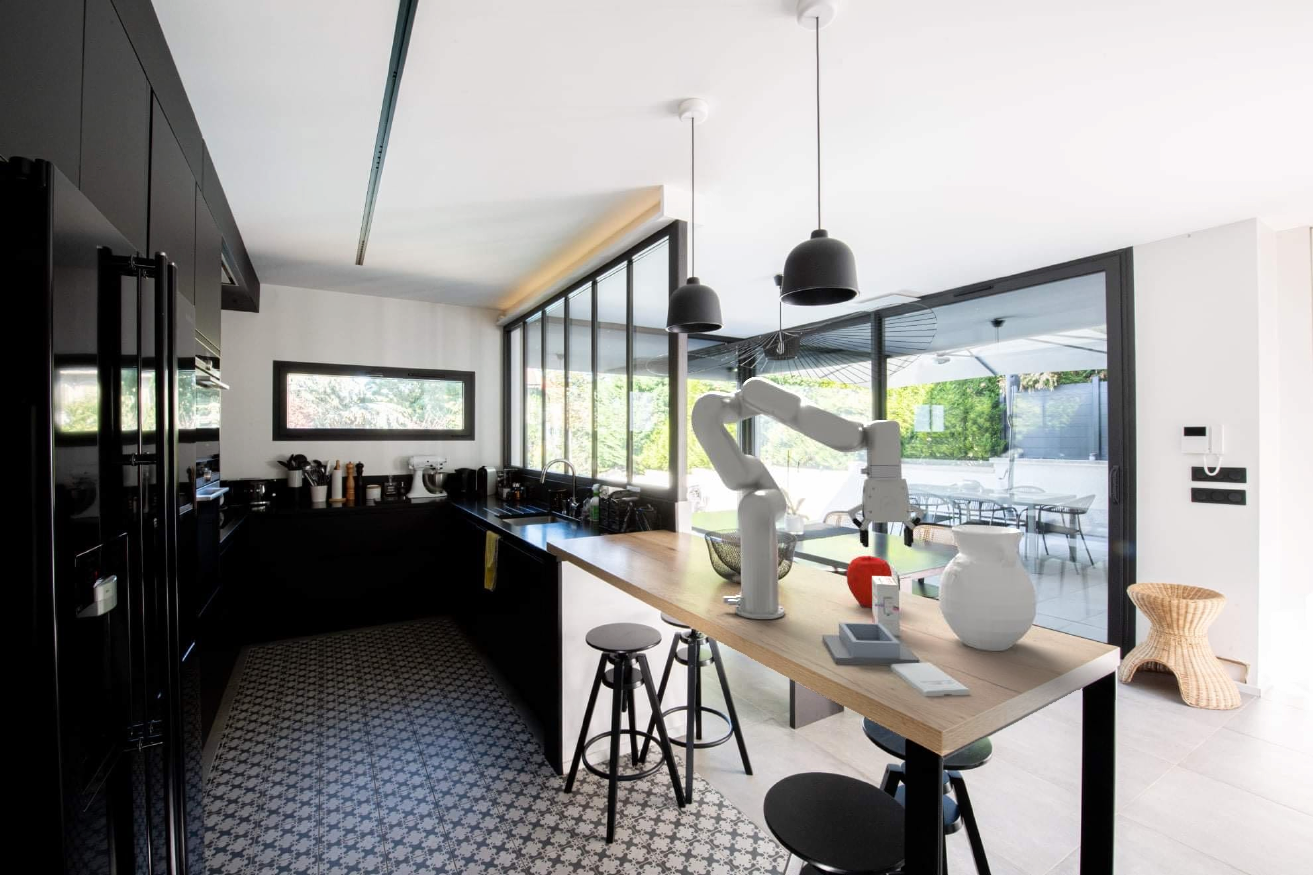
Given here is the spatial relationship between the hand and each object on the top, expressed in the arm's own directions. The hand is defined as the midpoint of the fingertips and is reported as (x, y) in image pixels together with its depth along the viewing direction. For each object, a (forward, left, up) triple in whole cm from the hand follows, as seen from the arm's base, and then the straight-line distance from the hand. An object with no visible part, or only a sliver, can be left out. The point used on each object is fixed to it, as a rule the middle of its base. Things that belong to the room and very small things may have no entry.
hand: (886, 546), depth 138 cm
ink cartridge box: (0, 0, -20) cm, 20 cm away
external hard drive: (-1, -30, -20) cm, 36 cm away
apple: (+2, +21, -20) cm, 29 cm away
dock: (-8, -15, -20) cm, 26 cm away
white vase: (+19, -8, -20) cm, 28 cm away
